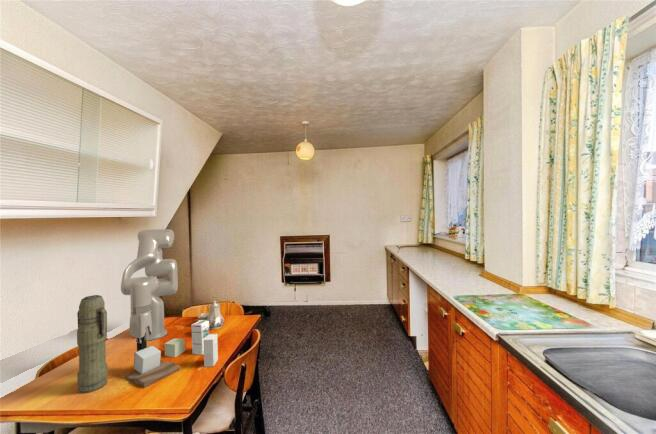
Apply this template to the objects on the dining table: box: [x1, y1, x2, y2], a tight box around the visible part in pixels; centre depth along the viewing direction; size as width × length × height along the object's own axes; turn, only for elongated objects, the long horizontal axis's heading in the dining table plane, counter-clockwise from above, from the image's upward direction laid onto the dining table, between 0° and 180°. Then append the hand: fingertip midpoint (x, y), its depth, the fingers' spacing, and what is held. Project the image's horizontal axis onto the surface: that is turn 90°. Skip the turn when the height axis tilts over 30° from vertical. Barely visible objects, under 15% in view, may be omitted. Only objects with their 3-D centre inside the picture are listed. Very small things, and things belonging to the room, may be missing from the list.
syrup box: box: [191, 319, 210, 356], centre depth 134 cm, size 6×6×14 cm
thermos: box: [76, 294, 109, 394], centre depth 107 cm, size 9×12×35 cm
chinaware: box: [196, 299, 225, 331], centre depth 164 cm, size 28×17×17 cm, turn 24°
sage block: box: [164, 337, 186, 358], centre depth 132 cm, size 6×6×6 cm
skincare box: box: [203, 333, 219, 368], centre depth 122 cm, size 6×4×12 cm
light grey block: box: [133, 345, 162, 374], centre depth 117 cm, size 7×7×7 cm
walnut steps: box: [124, 359, 180, 389], centre depth 115 cm, size 14×14×2 cm
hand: (141, 351), depth 119 cm, fingers closed
